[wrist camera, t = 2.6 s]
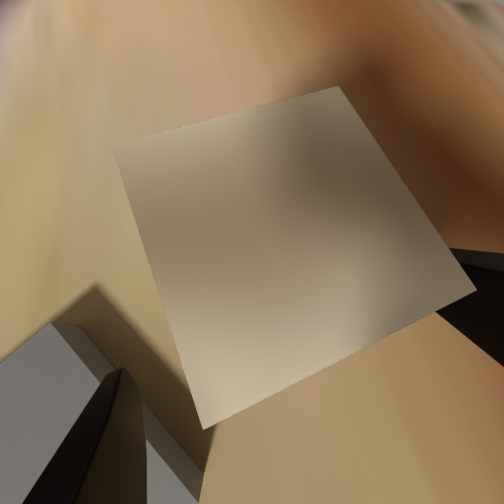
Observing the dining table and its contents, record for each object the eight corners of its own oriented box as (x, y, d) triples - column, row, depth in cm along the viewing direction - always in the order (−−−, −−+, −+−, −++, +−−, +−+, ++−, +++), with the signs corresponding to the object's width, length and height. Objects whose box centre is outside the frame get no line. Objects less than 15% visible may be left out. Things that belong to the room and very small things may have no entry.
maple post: (291, 325, 16) (476, 290, 4) (224, 356, 15) (203, 430, 3) (262, 261, 18) (338, 85, 5) (198, 286, 17) (111, 145, 4)
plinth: (203, 473, 14) (198, 502, 11) (4, 719, 10) (-62, 831, 8) (77, 324, 15) (50, 322, 13) (-124, 496, 12) (-209, 534, 10)
